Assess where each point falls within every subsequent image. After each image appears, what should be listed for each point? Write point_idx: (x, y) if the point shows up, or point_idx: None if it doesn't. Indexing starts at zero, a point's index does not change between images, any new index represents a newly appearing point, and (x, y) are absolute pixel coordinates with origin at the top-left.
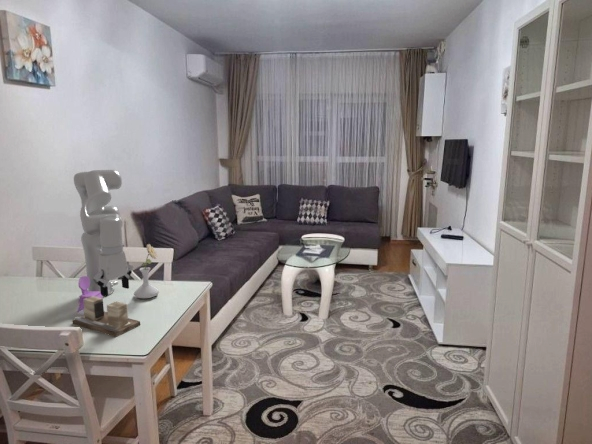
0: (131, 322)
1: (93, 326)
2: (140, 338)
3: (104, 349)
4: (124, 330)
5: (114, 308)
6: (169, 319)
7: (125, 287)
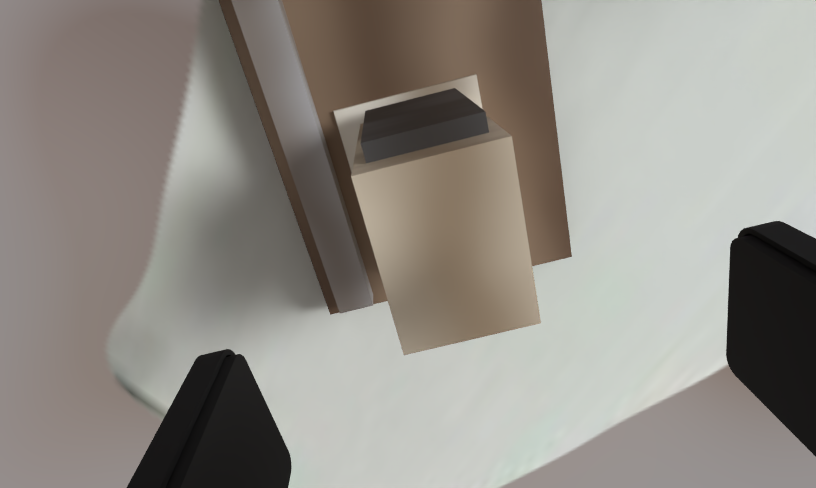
0: None
1: (239, 51)
2: (439, 417)
3: None
4: None
5: (390, 300)
6: None
7: (737, 332)
